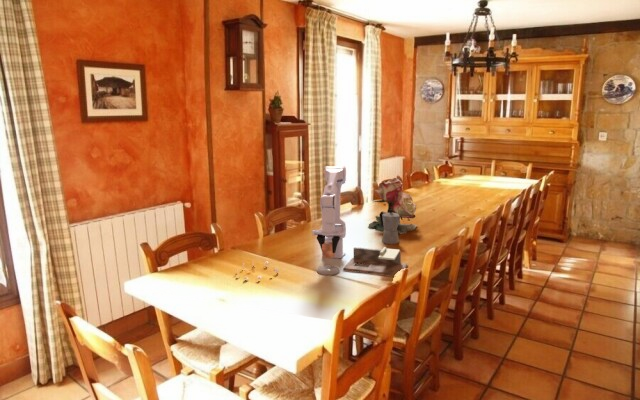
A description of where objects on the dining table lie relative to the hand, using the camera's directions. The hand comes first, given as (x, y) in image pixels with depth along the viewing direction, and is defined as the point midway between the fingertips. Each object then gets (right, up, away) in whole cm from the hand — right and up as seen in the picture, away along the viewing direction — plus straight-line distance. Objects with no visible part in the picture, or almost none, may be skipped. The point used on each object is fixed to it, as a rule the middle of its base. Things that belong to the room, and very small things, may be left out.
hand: (328, 251), depth 203 cm
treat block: (0, -2, 0) cm, 2 cm away
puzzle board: (+21, -8, +5) cm, 23 cm away
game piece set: (-32, -10, 0) cm, 33 cm away
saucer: (0, -9, +2) cm, 9 cm away
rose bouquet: (+42, +6, +74) cm, 85 cm away
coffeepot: (+34, 0, +46) cm, 57 cm away
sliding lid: (+27, -2, +2) cm, 27 cm away
